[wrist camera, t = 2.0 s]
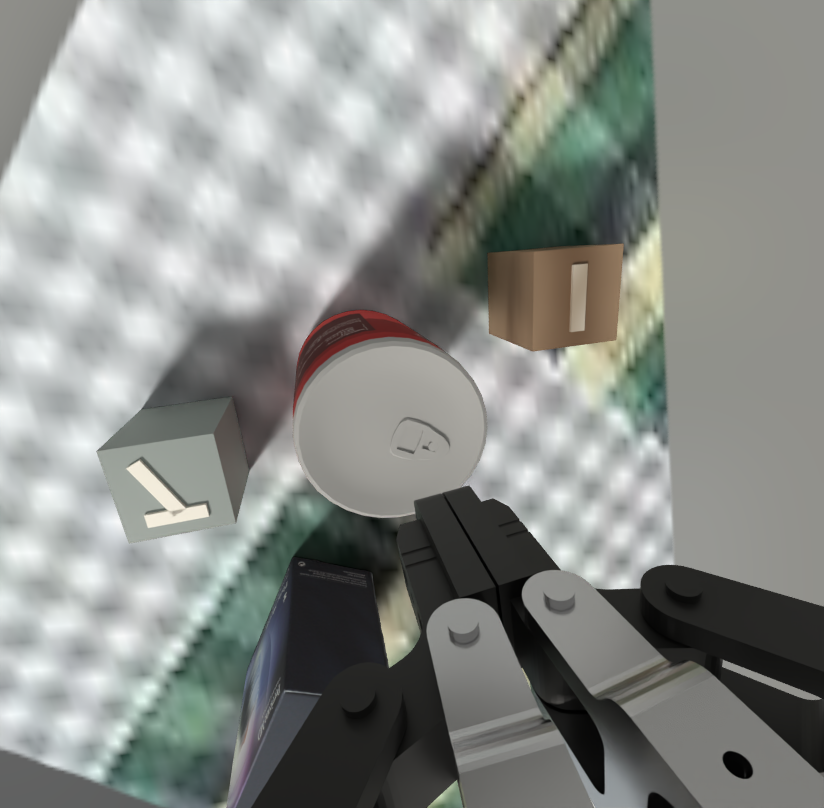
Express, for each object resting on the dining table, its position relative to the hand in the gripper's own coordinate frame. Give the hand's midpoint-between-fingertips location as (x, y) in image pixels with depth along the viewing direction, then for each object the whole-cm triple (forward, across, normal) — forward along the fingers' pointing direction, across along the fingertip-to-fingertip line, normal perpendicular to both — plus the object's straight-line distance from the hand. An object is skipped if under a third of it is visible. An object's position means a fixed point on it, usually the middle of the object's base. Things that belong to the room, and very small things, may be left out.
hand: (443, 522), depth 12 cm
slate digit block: (+17, +11, +2) cm, 20 cm away
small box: (+17, +8, +18) cm, 26 cm away
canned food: (+17, 0, 0) cm, 17 cm away
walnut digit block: (+17, -11, -3) cm, 21 cm away
